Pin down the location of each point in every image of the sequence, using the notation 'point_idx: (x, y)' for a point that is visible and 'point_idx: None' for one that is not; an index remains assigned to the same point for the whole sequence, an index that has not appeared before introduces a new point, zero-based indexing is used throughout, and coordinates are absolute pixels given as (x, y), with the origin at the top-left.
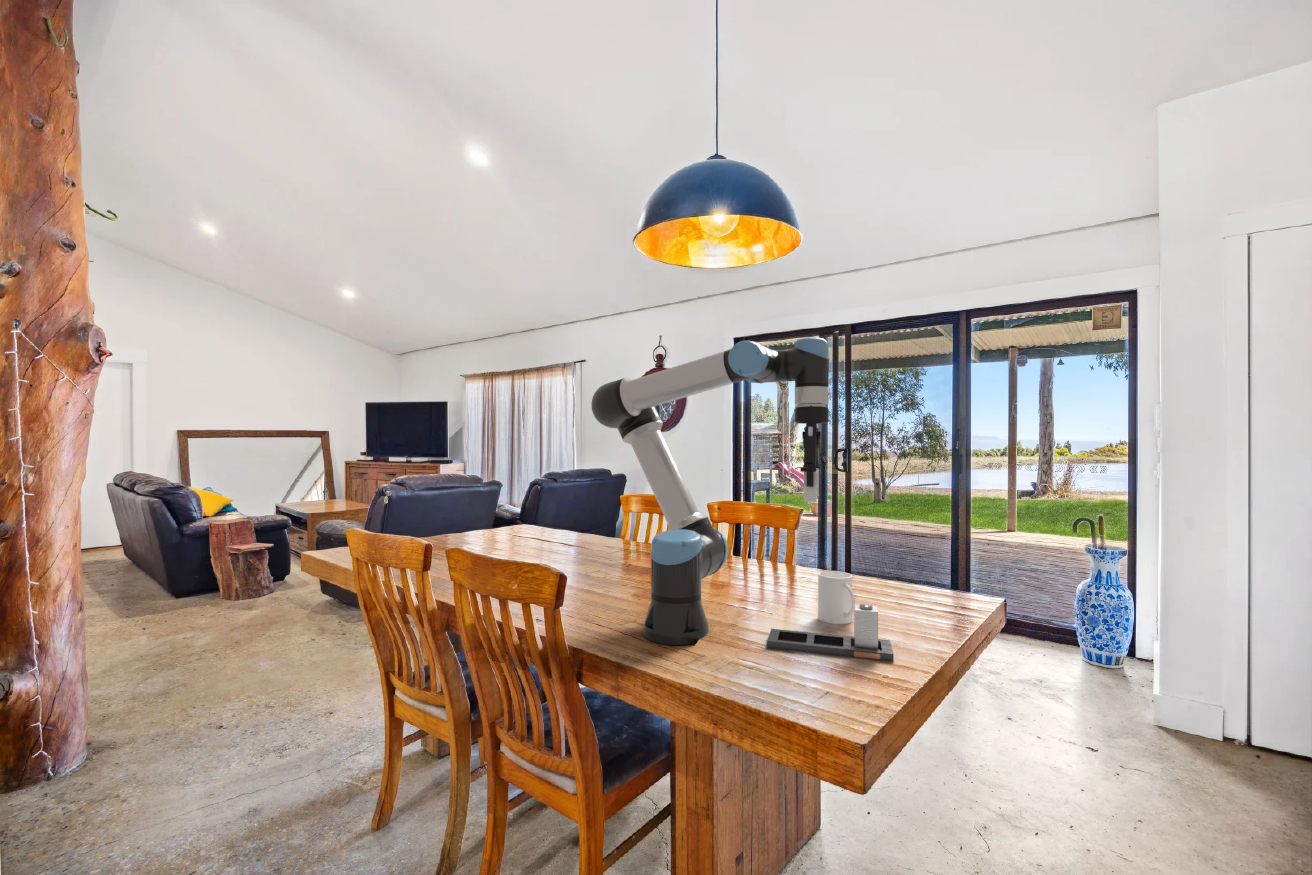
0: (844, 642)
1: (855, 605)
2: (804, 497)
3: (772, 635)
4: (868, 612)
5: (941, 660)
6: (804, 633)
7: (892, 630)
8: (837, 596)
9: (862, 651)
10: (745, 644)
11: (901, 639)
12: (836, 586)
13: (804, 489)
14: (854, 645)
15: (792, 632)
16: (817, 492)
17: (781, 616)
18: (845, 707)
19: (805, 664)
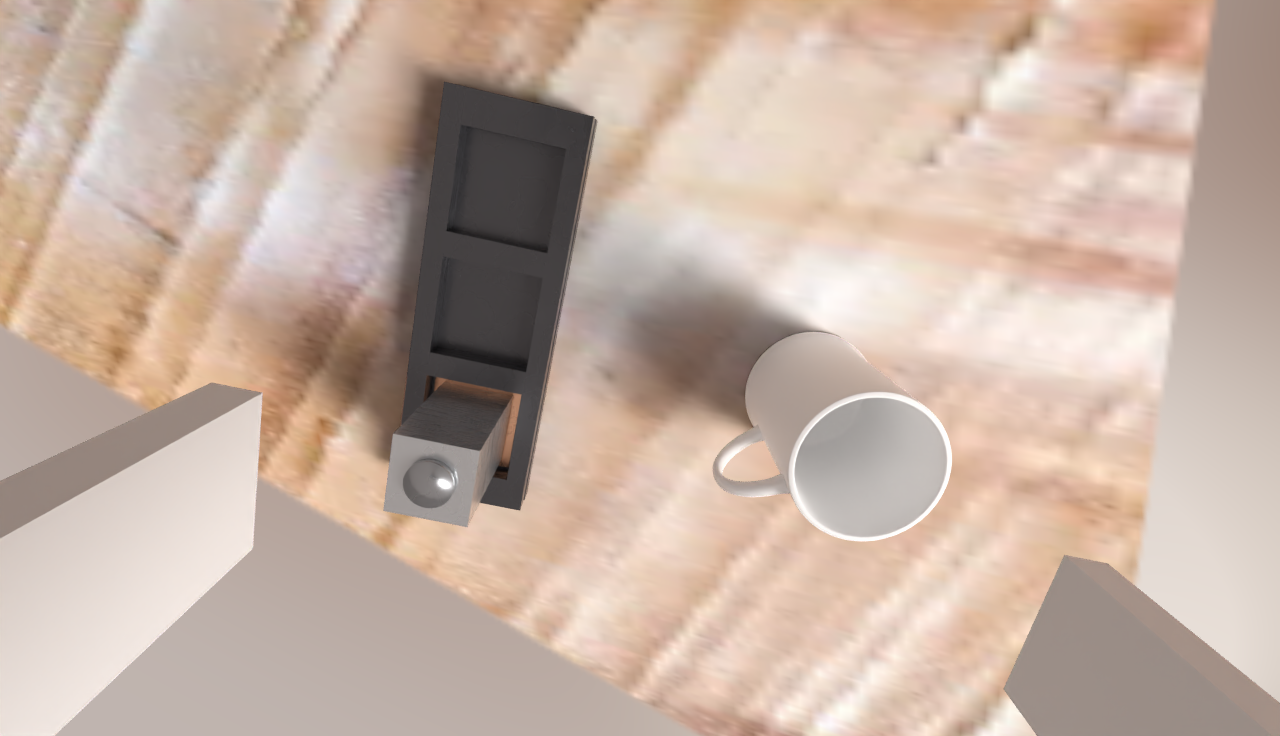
0: (475, 364)
1: (460, 450)
2: (168, 413)
3: (509, 111)
4: (388, 477)
5: (480, 604)
6: (551, 242)
7: (731, 555)
8: (770, 430)
9: (403, 402)
10: (532, 8)
11: (645, 556)
12: (781, 443)
13: (56, 467)
14: (484, 394)
15: (557, 197)
16: (1037, 718)
17: (886, 199)
18: (85, 269)
19: (372, 211)
